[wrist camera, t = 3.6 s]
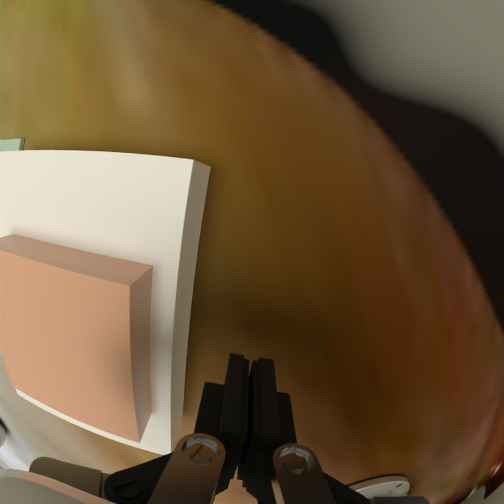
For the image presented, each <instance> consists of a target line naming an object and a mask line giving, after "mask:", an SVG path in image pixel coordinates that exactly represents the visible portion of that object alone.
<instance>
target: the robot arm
mask: <svg viewBox="0 0 504 504" xmlns="http://www.w3.org/2000/svg"><path fill="white" fill-rule="evenodd" d="M237 465H238V473H237V479H238V480H243V483H242V487H246V491H247V492H249V493H250V494H251V495H252V496H253V504H430V502H429V501H428V500H427V499H426V498H425V497H424V496H407V492H408V490H409V488H410V485H409V482H408V480H407V479H406V478H405V477H403V476H386V477H380V478H375V479H371V480H367V481H364V482H361V483H357V484H354V485H351V486H348V487H347V486H346V485H344V484H342V483H341V482H339V481H337V480H336V479H334V478H332V477H331V476H329V475H328V474H326V473H324V472H323V470H322V467H321V465H320V462H319V460H318V458H317V456H316V454H315V453H314V452H313V451H312V450H311V449H310V448H308V447H306V446H304V445H301V444H297V440H296V434H295V427H294V420H293V414H292V407H291V401H290V396H289V394H288V393H281V392H277V388H276V379H275V369H274V361H273V359H266V358H259V359H258V361H254V360H253V362H252V367H251V371H250V375H249V360H247V359H244V355H239V354H233V353H230V357H229V362H228V368H227V373H226V379H225V384H224V385H221V384H215V383H210V382H205V385H204V389H203V394H202V398H201V402H200V407H199V411H198V416H197V420H196V425H195V430H194V433H192V434H189V435H186V436H184V437H183V438H181V439H180V441H179V442H178V443H177V446H176V448H175V450H174V452H171V453H169V454H166V455H164V456H161V457H159V458H156V459H153V460H151V461H148V462H145V463H142V464H139V465H137V466H134V467H131V468H128V469H124V470H121V471H118V472H115V473H113V474H107V473H102V472H101V470H97V469H92V468H88V467H83V466H79V465H75V464H71V463H67V462H63V461H60V460H56V459H53V458H49V457H40V458H37V459H35V460H34V461H33V462H32V464H31V466H30V469H29V472H27V471H22V470H14V469H3V470H0V504H213V502H214V499H215V495H217V494H219V493H221V492H222V491H224V490H226V489H227V488H228V485H229V482H230V479H233V477H234V474H235V471H236V468H237Z"/></svg>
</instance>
